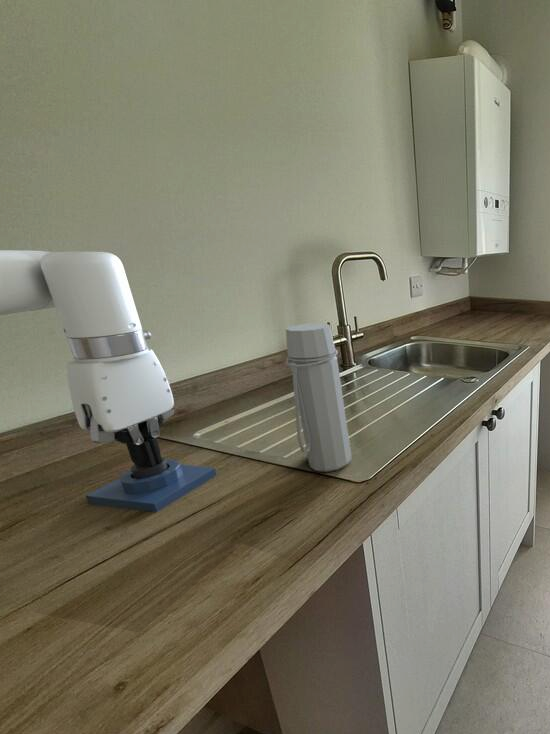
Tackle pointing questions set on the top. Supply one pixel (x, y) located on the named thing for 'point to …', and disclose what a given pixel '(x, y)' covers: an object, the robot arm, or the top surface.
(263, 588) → the top surface
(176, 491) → the blue base plate
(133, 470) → the dark grey round knob
